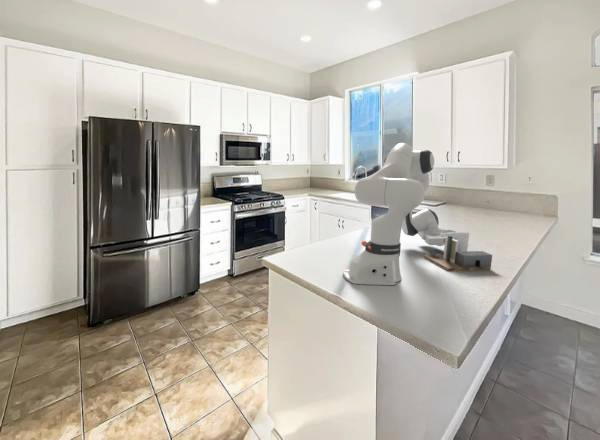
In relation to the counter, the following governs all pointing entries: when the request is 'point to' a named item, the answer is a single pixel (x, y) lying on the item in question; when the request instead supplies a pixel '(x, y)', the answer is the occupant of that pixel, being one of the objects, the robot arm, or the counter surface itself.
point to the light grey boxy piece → (459, 239)
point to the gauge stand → (461, 259)
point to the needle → (449, 248)
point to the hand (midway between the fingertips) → (455, 243)
